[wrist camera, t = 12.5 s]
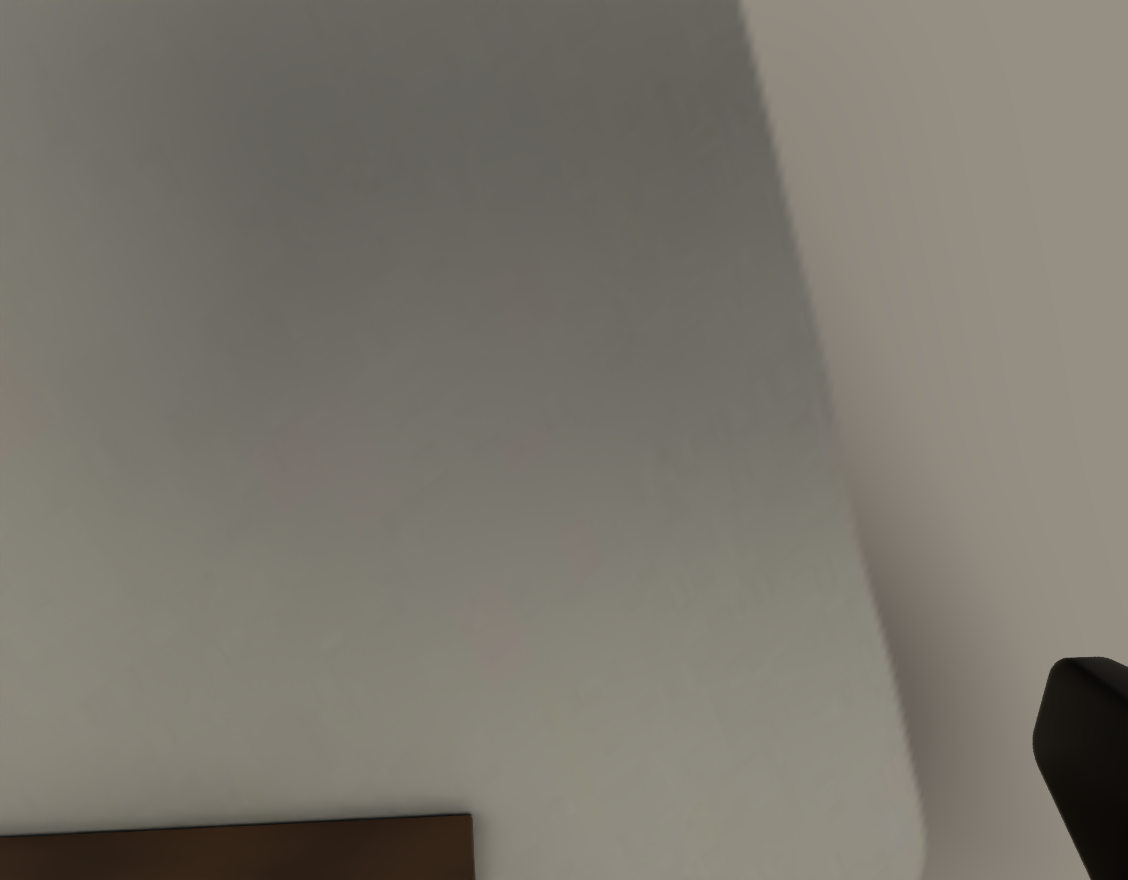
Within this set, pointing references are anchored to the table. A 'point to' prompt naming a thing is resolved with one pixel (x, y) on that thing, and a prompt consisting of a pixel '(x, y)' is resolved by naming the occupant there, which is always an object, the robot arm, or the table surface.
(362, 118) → the table surface
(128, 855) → the wooden tray
